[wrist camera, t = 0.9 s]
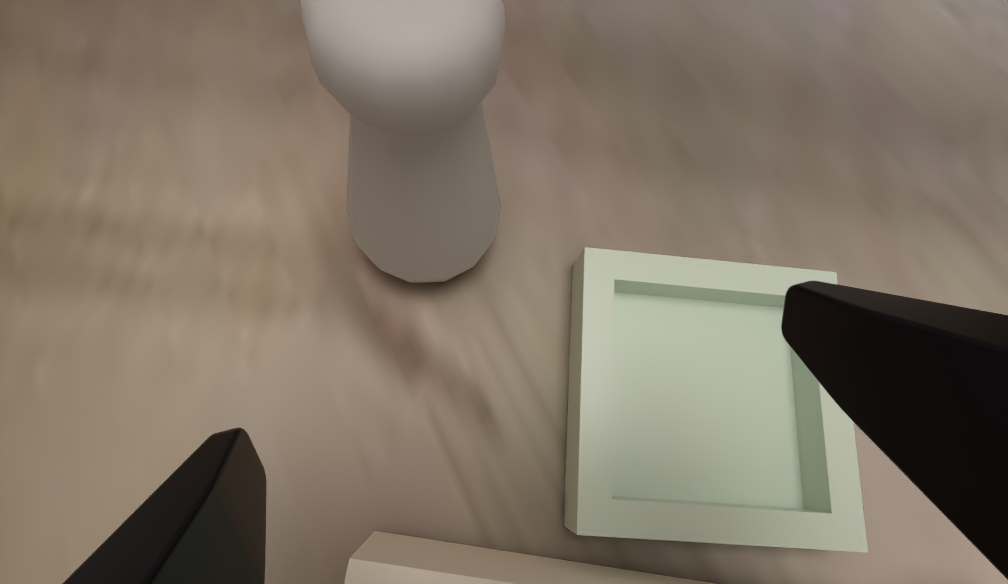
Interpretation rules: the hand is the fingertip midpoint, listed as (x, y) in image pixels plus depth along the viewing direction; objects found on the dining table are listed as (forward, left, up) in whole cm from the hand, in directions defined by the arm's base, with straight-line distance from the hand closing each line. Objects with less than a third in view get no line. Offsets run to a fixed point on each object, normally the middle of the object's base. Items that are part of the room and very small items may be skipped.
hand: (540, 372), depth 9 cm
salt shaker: (+7, +4, -13) cm, 16 cm away
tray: (+2, -8, -13) cm, 16 cm away
